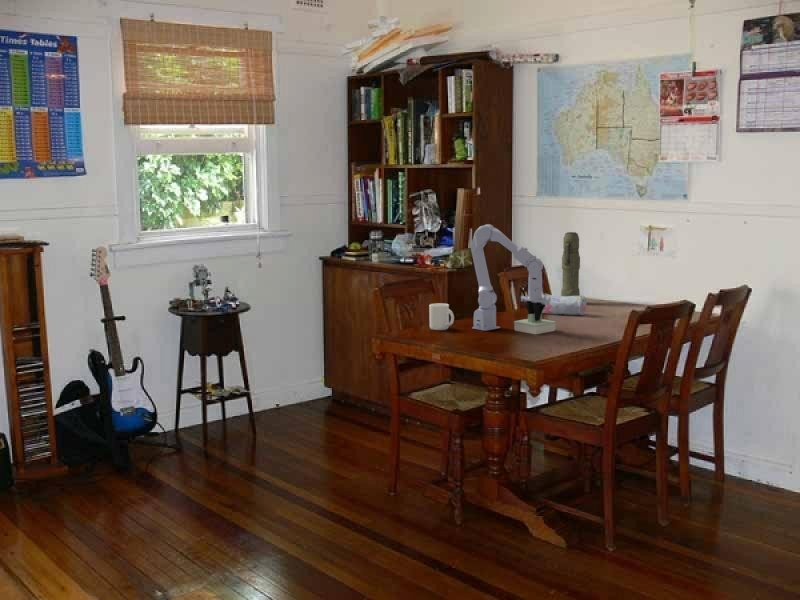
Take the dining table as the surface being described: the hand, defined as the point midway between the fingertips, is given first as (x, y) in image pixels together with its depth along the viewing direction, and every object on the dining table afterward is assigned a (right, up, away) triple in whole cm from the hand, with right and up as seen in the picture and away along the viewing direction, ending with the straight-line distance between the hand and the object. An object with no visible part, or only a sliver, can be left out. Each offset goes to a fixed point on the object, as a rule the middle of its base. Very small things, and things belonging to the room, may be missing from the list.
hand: (534, 320), depth 391 cm
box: (0, -4, +1) cm, 4 cm away
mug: (-38, -4, +7) cm, 39 cm away
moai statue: (+27, +6, +69) cm, 74 cm away
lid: (0, -1, 0) cm, 1 cm away
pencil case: (+19, +1, +39) cm, 43 cm away
